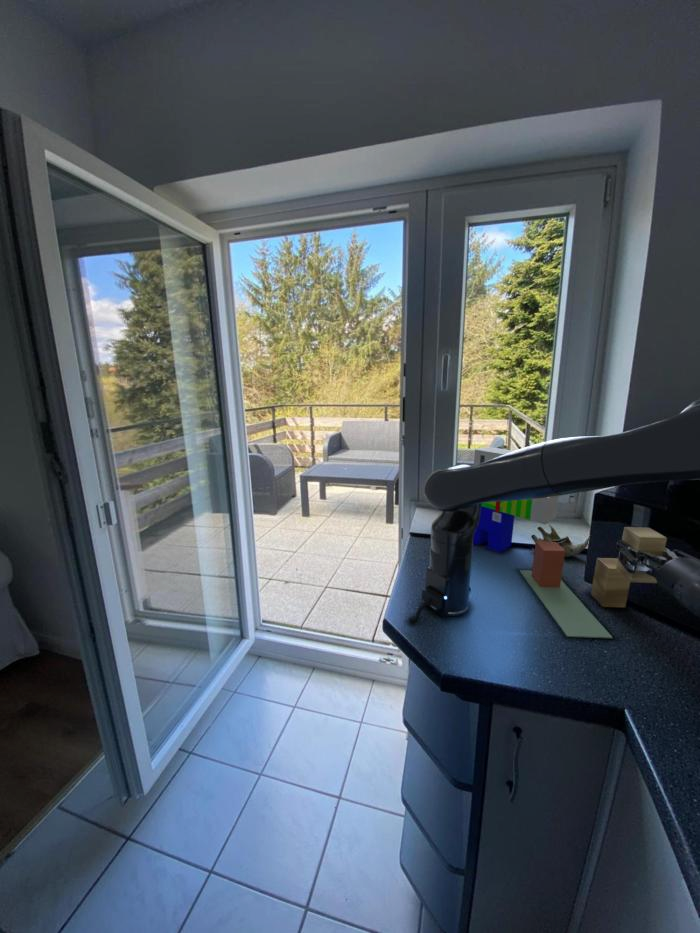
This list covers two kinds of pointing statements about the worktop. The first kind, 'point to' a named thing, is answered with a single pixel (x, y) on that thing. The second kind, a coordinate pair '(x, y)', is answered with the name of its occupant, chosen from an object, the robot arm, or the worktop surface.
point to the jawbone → (560, 542)
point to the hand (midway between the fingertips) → (632, 544)
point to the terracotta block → (548, 564)
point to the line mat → (567, 610)
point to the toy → (508, 511)
